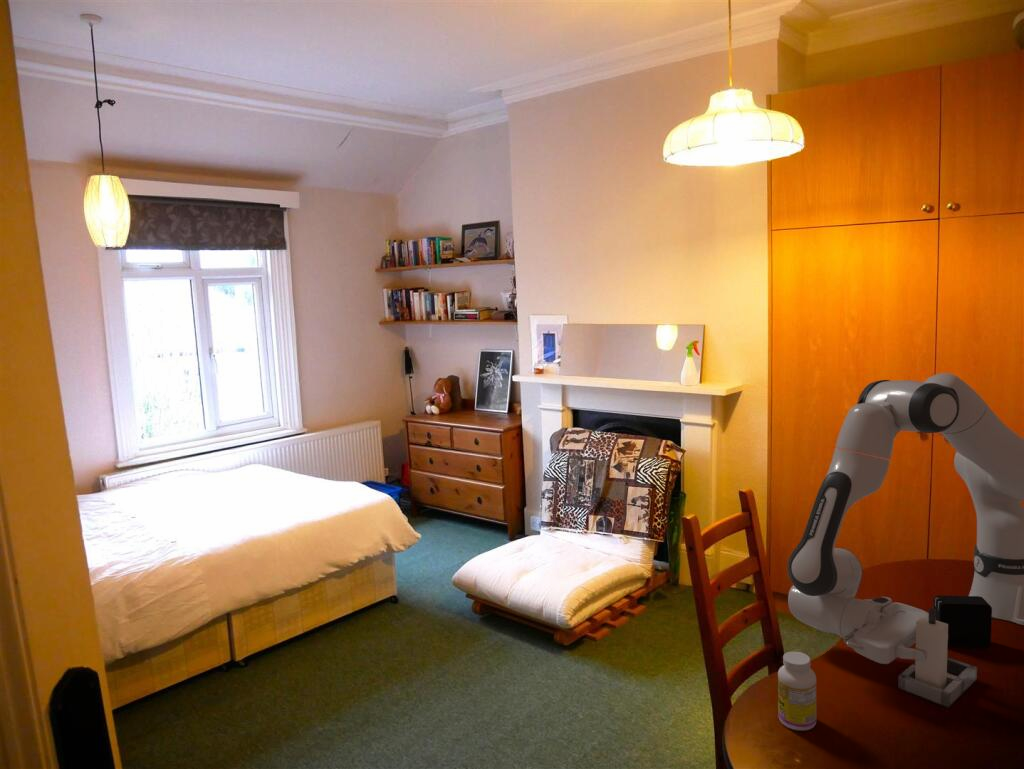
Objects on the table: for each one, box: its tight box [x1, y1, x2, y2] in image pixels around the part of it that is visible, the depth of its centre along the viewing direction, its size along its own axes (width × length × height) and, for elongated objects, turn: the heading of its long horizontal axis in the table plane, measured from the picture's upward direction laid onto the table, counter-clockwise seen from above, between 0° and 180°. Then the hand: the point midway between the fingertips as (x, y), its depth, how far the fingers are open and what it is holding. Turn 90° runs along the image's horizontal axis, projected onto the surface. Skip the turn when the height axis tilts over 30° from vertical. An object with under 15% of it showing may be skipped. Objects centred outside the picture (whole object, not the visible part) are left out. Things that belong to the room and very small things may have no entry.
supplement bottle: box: [777, 651, 817, 732], centre depth 136 cm, size 7×7×13 cm
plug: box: [914, 607, 948, 690], centre depth 142 cm, size 4×3×17 cm, turn 38°
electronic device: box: [932, 594, 993, 650], centre depth 159 cm, size 4×10×10 cm, turn 79°
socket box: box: [897, 656, 978, 709], centre depth 145 cm, size 9×14×3 cm, turn 128°
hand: (936, 647), depth 141 cm, fingers open, 8 cm apart
